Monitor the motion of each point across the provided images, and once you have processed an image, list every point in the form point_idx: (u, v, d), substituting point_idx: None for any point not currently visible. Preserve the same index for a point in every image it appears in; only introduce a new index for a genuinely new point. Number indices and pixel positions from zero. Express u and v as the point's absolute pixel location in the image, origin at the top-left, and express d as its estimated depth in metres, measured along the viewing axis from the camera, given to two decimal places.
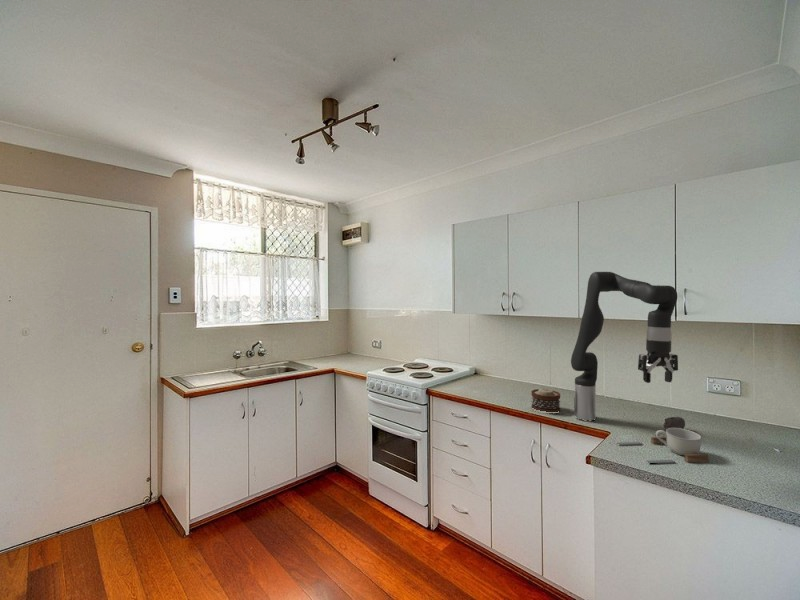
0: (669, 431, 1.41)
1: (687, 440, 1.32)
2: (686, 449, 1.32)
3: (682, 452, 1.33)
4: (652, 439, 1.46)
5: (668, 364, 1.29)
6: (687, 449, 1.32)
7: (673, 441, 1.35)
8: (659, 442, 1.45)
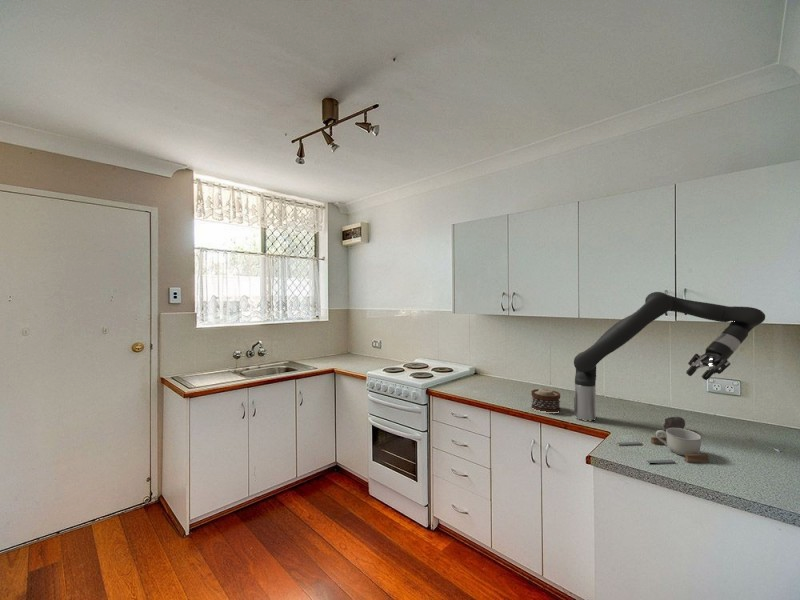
0: (669, 431, 1.41)
1: (687, 440, 1.32)
2: (686, 449, 1.32)
3: (682, 452, 1.33)
4: (652, 439, 1.46)
5: None
6: (687, 449, 1.32)
7: (673, 441, 1.35)
8: (659, 442, 1.45)
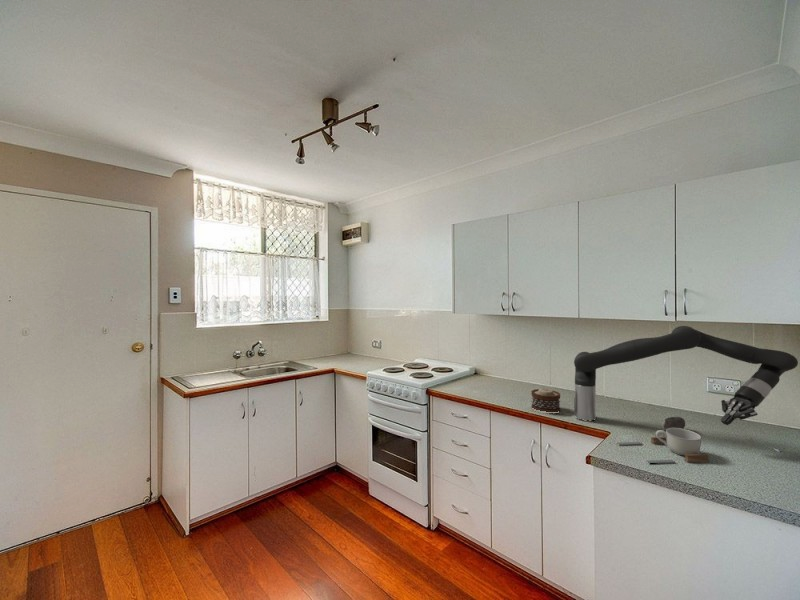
0: (669, 431, 1.41)
1: (687, 440, 1.32)
2: (686, 449, 1.32)
3: (682, 452, 1.33)
4: (652, 439, 1.46)
5: None
6: (687, 449, 1.32)
7: (673, 441, 1.35)
8: (659, 442, 1.45)
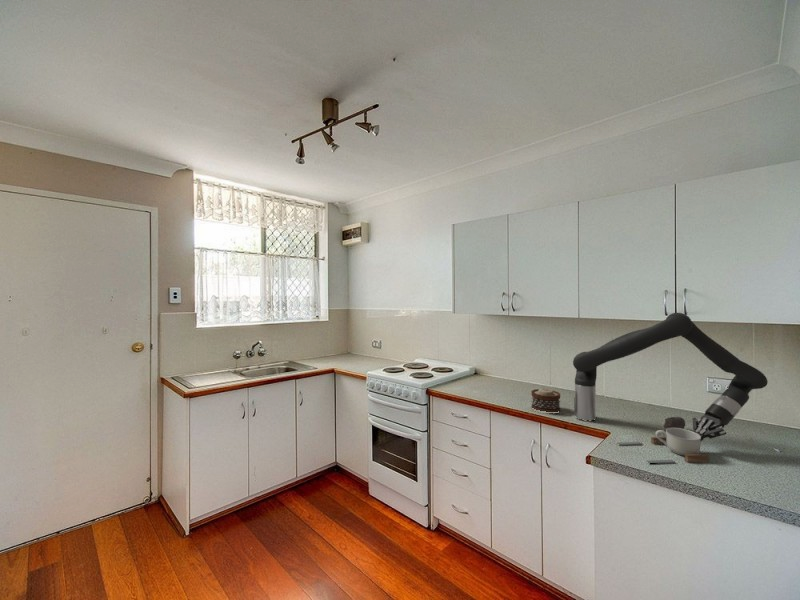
0: (669, 431, 1.41)
1: (687, 440, 1.32)
2: (686, 449, 1.32)
3: (682, 452, 1.33)
4: (652, 439, 1.46)
5: None
6: (686, 449, 1.32)
7: (673, 441, 1.35)
8: (659, 442, 1.45)
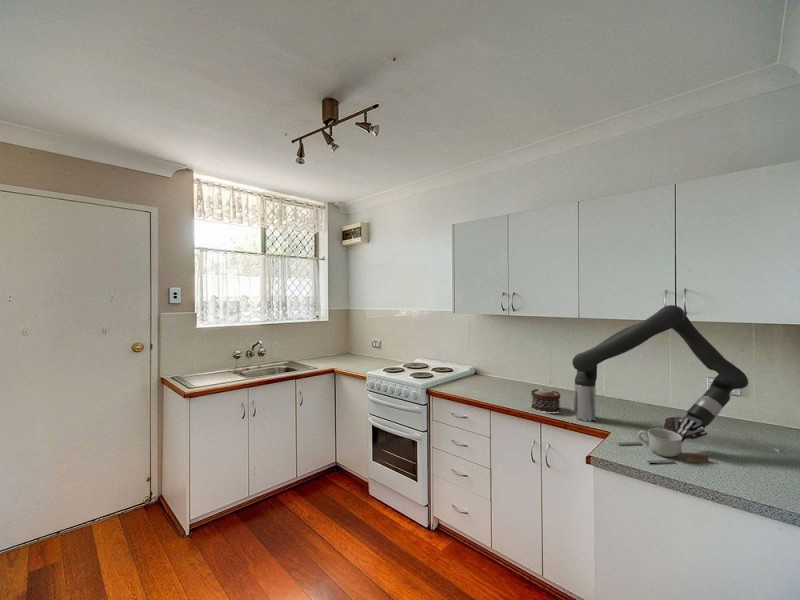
0: (651, 432, 1.41)
1: (668, 441, 1.31)
2: (667, 450, 1.32)
3: (663, 453, 1.33)
4: None
5: None
6: (668, 450, 1.32)
7: (654, 441, 1.35)
8: None
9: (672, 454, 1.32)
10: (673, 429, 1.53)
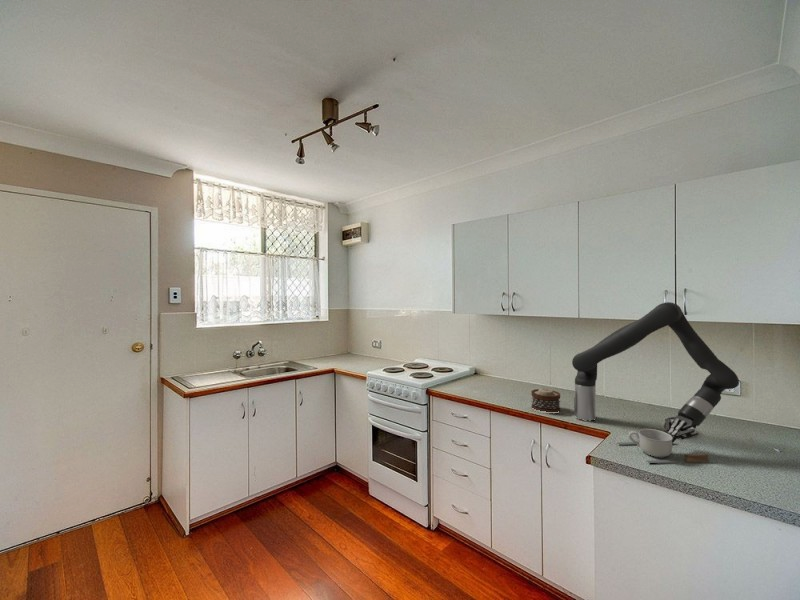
0: (642, 432, 1.40)
1: (658, 441, 1.31)
2: (657, 450, 1.32)
3: (654, 454, 1.32)
4: None
5: None
6: (658, 451, 1.31)
7: (645, 442, 1.34)
8: None
9: (662, 454, 1.31)
10: None
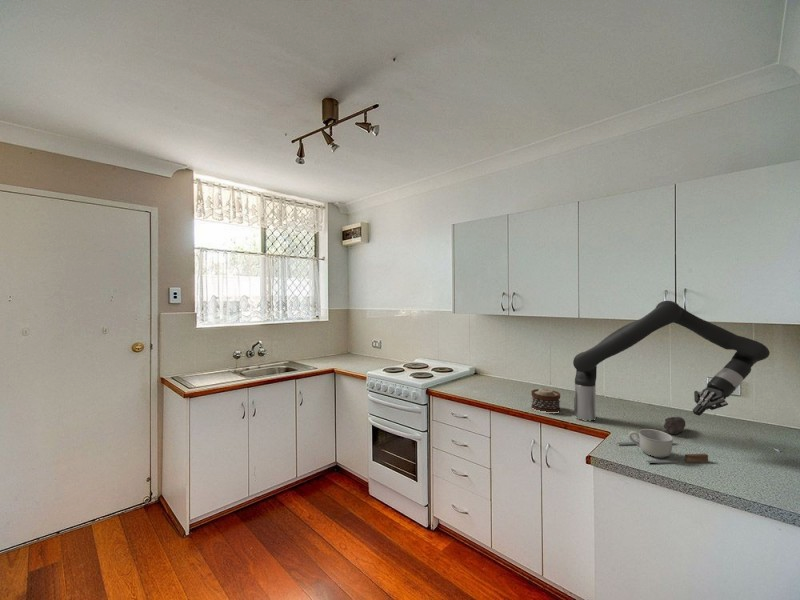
0: (642, 432, 1.40)
1: (658, 442, 1.31)
2: (657, 450, 1.31)
3: (654, 454, 1.32)
4: None
5: None
6: (658, 451, 1.31)
7: (645, 442, 1.34)
8: None
9: (662, 455, 1.31)
10: (673, 429, 1.53)
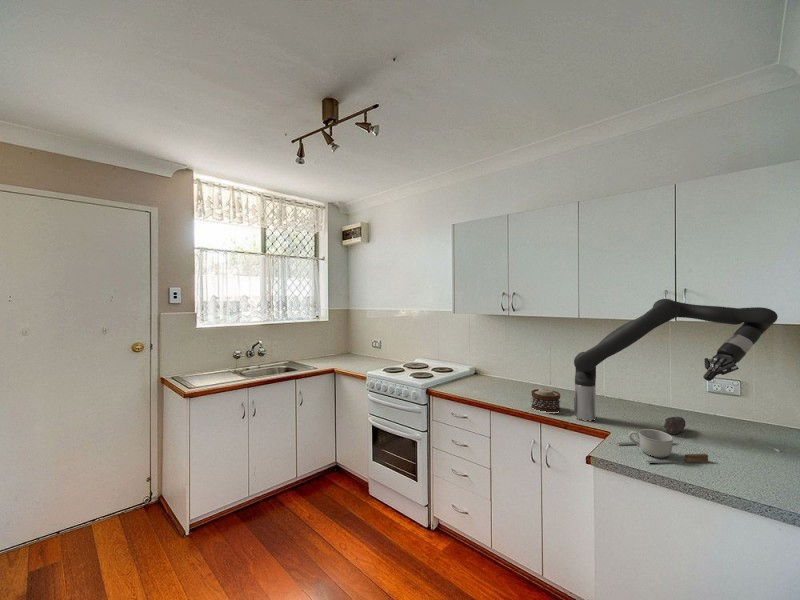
0: (642, 432, 1.40)
1: (658, 442, 1.31)
2: (657, 450, 1.31)
3: (654, 454, 1.32)
4: None
5: None
6: (658, 451, 1.31)
7: (645, 442, 1.34)
8: None
9: (662, 455, 1.31)
10: (673, 429, 1.53)
